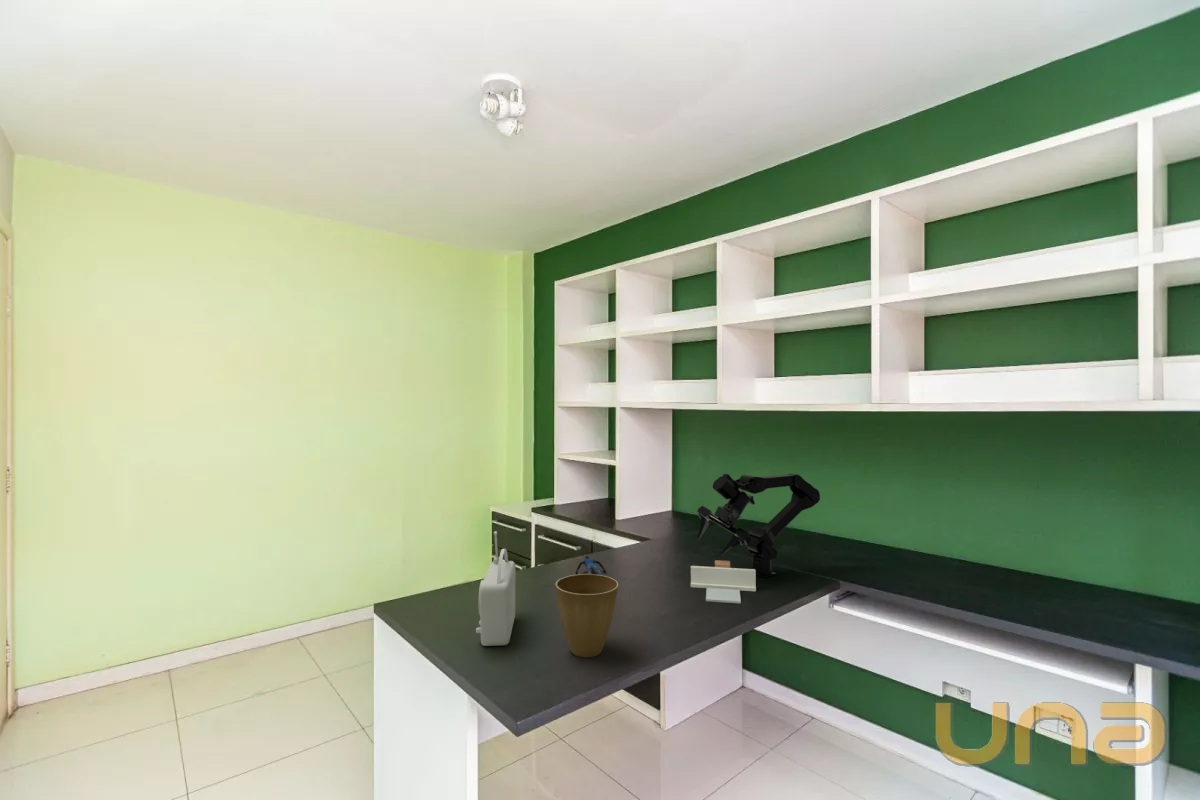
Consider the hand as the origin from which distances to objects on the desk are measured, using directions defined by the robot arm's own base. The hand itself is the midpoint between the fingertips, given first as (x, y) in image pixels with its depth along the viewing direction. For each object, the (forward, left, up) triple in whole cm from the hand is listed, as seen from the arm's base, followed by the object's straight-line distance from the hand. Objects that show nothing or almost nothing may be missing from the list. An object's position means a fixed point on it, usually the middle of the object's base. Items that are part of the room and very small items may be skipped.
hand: (709, 546), depth 178 cm
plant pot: (+59, +20, -12) cm, 64 cm away
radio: (+73, -2, -12) cm, 74 cm away
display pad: (+6, +12, -12) cm, 18 cm away
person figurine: (+29, -26, -12) cm, 41 cm away
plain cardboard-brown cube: (-7, -1, -12) cm, 13 cm away
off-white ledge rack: (0, +6, -11) cm, 13 cm away
